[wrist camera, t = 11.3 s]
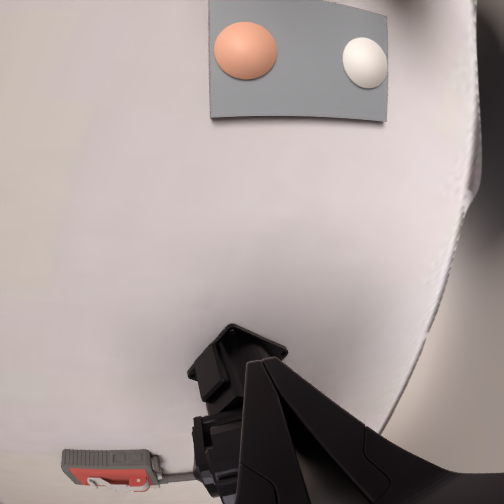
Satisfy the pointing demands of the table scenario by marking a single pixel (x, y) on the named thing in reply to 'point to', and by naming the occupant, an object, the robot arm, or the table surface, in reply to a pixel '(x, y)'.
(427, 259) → the table surface
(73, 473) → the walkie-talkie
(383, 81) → the card
